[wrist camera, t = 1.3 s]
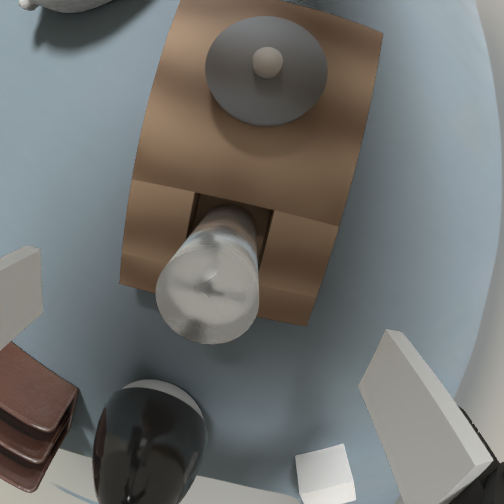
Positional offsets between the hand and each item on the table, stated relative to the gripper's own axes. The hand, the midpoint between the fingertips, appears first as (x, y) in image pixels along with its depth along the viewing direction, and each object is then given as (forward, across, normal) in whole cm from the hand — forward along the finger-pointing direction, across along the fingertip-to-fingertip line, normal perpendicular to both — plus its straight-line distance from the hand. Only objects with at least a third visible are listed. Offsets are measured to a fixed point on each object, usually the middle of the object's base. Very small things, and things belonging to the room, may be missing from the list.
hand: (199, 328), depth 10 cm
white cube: (+14, +17, -26) cm, 34 cm away
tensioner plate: (+14, 0, +6) cm, 15 cm away
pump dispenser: (+14, -3, -18) cm, 23 cm away
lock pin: (+13, 0, 0) cm, 13 cm away
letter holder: (+14, -24, -23) cm, 36 cm away
